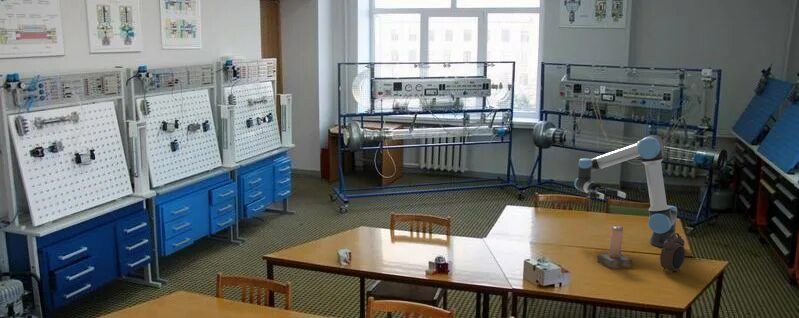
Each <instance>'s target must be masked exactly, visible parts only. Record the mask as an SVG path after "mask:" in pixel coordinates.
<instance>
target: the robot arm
mask: <svg viewBox="0 0 799 318" xmlns="http://www.w3.org/2000/svg"><path fill="white" fill-rule="evenodd" d="M664 149H665V141H664V139H663V138H662V136H659V135H656V134H650V135H647V136H645V137H643V138H642V139H641V140H638V141H637V142H636V143H634V144H630V145H628V146H625V147H622V148H620V149H619V148H618V149H616V150H613V151H610V152H606V153H604V154H602V155H598V156H595V157H592V158H585V157H584V158H582V157H581V158H580V159H579V160H578V165H577V166H578V167H577V169H578V171H577V172H578V173H577V174H578V175H577V178H575V180H574V182H573V183H574V184H573V185H574V188H575V189H577V190H578V191H580V192H583V193H586V194H588V195H589V197H593V199H596V198H598V199H601V200H605V196H607V195H613V196H617V197H620V198H623V199H626V198H627V197H626V196H627V193H625V192H623V190H621V189H616V188H611V187H603V186H602V185H601V184H600V183H598V182H595V181H594V180H592V173H593V172H595V171H598V170H602V169H604V168H607V167H611V166H614V165H617V164H619V163H623V162H626V161H630V160H632V159H635V158H639V157H640V162H641V163H643V165H644V168H645V174H646V183H647V189H648V196H649V204H650V206H649V208H648V211H647V212H648V214H649V215H648V217H649V218H648V223H647V225H648V228H649V229H650V230H651V231H652V234H651V236H650V238H649V244H650V245H651V246H655V247H659V248H663V247H664V242H665V241H666V240H668V239H669V237H670V235H671V234H673V233H676V228H677V216H678V208H677V206H674V205H668V204H667V198H666V196H667V195H666V190H665V184H664V183H665V182H664V175H663V170H662V169H663V168H662V161H663V160H664V155H663V154H664V153H663V150H664ZM676 237H677V234H676V235H673V236H672V237H671V239H672V240H673V239H674V238H676Z"/></svg>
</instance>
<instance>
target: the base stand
mask: <svg viewBox="0 0 799 318" xmlns="http://www.w3.org/2000/svg"><path fill="white" fill-rule="evenodd" d="M596 261H597V263H598V264H600V263H601V264H600V265H602V266H604V267H606V268H608V269H611V270H612V269H623V267H624V268H632V267H633V259H631V258H629V257H628V256H626V255H623V254H621V258H619V259H615V258H610V257H609V253H605V254H604V253H603V254H598V255H597V260H596Z"/></svg>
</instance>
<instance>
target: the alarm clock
mask: <svg viewBox="0 0 799 318" xmlns="http://www.w3.org/2000/svg"><path fill="white" fill-rule="evenodd" d="M673 235H676V238H674V239H673V240H672V239H671V237H672V236H673ZM684 246H685V240H684V238H682V236H681V235H680V233H678V232H677V233H676V232H675V233H673V234H671V235H670V237H669V239H668V240H666V241H665V242H664V247H662V248H661V252H660V257H659V262H660V265H661V267H662V268H663V270H662V271H663V272H665V270H669V275H670V274H671V273H672V272H673V271H674V272H676V271H679V272H680V271H681V268H682V266H683V264H684V261H685V257H686V250H685V247H684ZM671 275H672V274H671Z"/></svg>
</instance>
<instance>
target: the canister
mask: <svg viewBox="0 0 799 318" xmlns="http://www.w3.org/2000/svg"><path fill="white" fill-rule="evenodd" d="M623 233H624V227H623V226H622V225H621V226H620V225H611V226H610V236H609V237H610V238H609V250H608V252H609V253H608V254H609V257H610V258H615V259H619V258H621V255H622V249H623V247H622V245H623Z"/></svg>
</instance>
